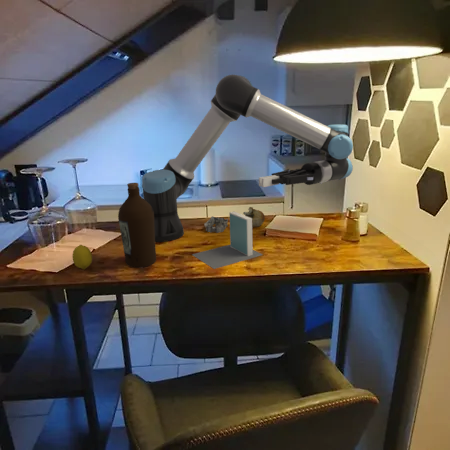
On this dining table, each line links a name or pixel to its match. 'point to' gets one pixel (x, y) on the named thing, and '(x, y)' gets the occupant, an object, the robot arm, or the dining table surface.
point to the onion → (255, 216)
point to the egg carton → (216, 224)
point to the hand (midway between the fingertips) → (261, 182)
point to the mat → (223, 256)
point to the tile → (241, 233)
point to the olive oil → (137, 229)
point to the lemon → (82, 256)
